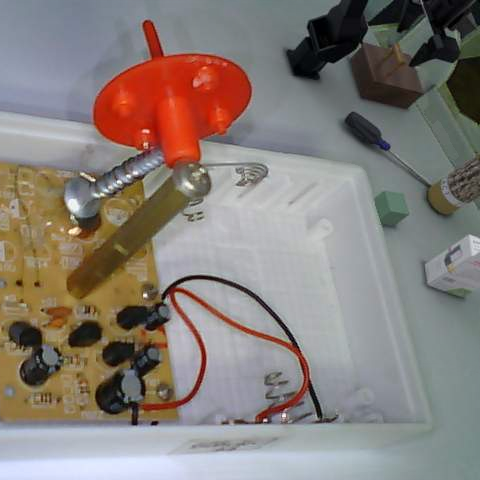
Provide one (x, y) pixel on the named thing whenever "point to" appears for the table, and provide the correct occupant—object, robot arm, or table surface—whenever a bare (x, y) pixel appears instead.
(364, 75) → the chest
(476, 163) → the canister
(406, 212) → the block
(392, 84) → the lid
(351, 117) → the screwdriver
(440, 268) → the ink box
